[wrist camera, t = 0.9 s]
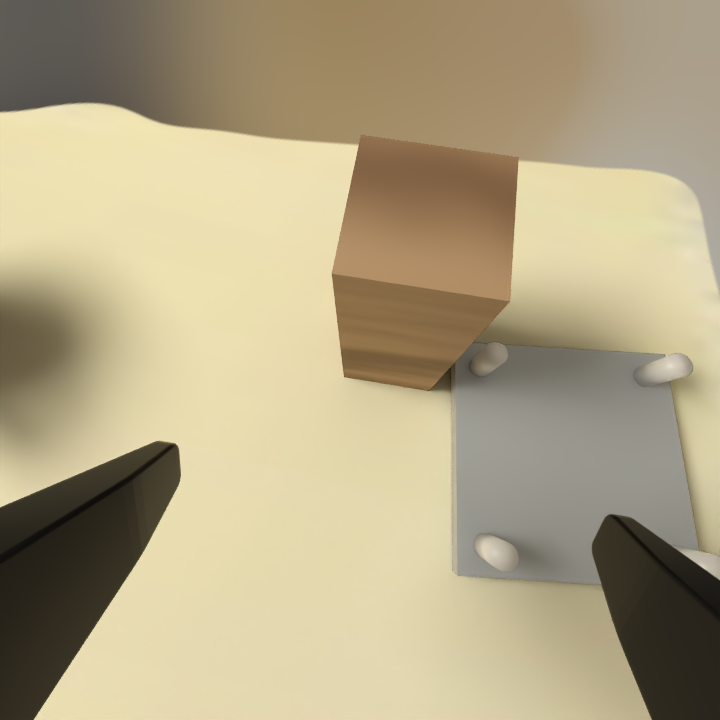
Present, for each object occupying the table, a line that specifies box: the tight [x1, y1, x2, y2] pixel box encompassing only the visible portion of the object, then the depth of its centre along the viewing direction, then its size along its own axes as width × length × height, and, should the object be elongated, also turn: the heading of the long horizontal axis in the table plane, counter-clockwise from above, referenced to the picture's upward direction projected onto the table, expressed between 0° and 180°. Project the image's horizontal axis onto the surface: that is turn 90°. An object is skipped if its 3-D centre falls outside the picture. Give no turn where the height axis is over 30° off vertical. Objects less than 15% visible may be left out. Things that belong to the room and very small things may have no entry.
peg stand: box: [451, 342, 720, 585], centre depth 19 cm, size 12×12×4 cm
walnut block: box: [332, 135, 518, 391], centre depth 17 cm, size 5×5×12 cm
